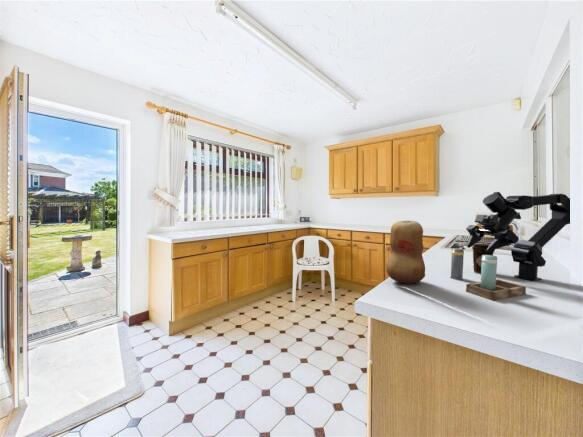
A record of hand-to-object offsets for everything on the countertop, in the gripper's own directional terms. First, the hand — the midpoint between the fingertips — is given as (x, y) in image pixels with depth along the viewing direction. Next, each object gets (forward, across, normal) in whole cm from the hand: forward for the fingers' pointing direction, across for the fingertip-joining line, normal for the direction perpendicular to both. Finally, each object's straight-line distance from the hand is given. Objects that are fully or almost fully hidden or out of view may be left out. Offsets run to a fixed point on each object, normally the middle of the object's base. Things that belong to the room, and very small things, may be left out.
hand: (477, 249), depth 100 cm
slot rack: (+14, +16, +3) cm, 22 cm away
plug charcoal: (+15, 0, +3) cm, 15 cm away
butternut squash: (+31, +1, -15) cm, 34 cm away
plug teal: (+16, +17, 0) cm, 23 cm away
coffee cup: (+2, -10, +18) cm, 20 cm away
